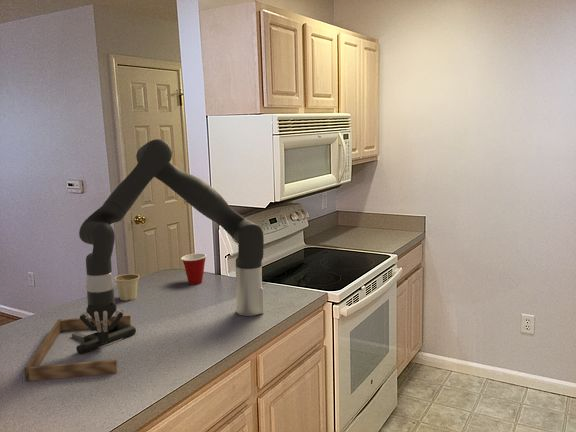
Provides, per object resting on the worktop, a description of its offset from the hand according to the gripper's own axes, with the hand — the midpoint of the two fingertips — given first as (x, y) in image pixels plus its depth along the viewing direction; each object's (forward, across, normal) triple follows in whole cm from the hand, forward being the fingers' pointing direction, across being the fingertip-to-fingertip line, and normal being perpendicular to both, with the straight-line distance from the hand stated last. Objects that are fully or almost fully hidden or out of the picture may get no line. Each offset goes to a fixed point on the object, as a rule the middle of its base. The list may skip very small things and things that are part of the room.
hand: (103, 342), depth 154 cm
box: (+2, +5, 0) cm, 5 cm away
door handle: (+3, +3, -8) cm, 9 cm away
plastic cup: (+2, -28, -63) cm, 69 cm away
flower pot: (+2, -2, -47) cm, 47 cm away
